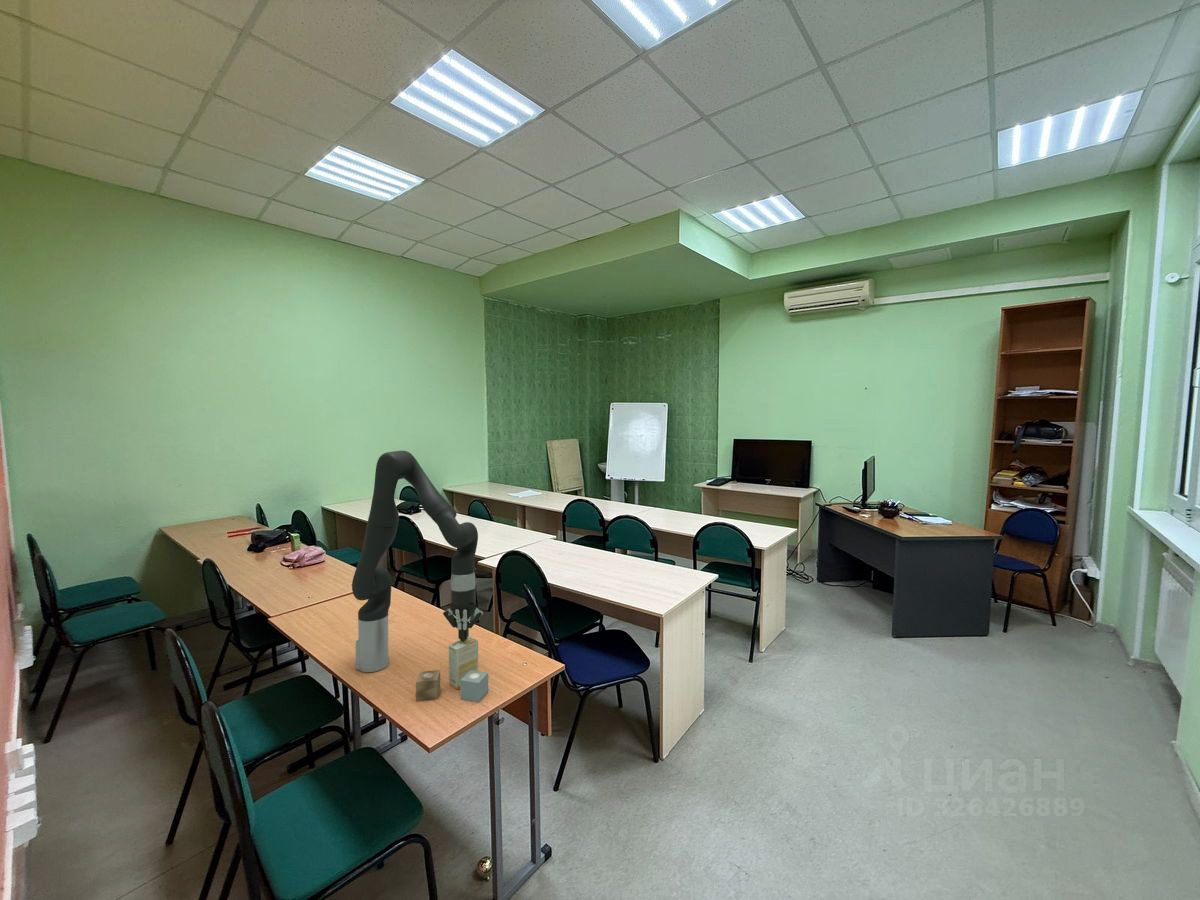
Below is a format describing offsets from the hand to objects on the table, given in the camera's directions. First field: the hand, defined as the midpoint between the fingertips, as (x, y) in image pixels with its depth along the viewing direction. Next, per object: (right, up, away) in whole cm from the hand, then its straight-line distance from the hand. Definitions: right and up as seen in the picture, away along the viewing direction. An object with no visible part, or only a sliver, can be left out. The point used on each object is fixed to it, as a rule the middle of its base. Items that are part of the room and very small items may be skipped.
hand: (463, 639), depth 149 cm
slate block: (+5, -14, -7) cm, 17 cm away
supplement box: (0, -14, +1) cm, 14 cm away
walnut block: (-9, -14, -7) cm, 18 cm away
